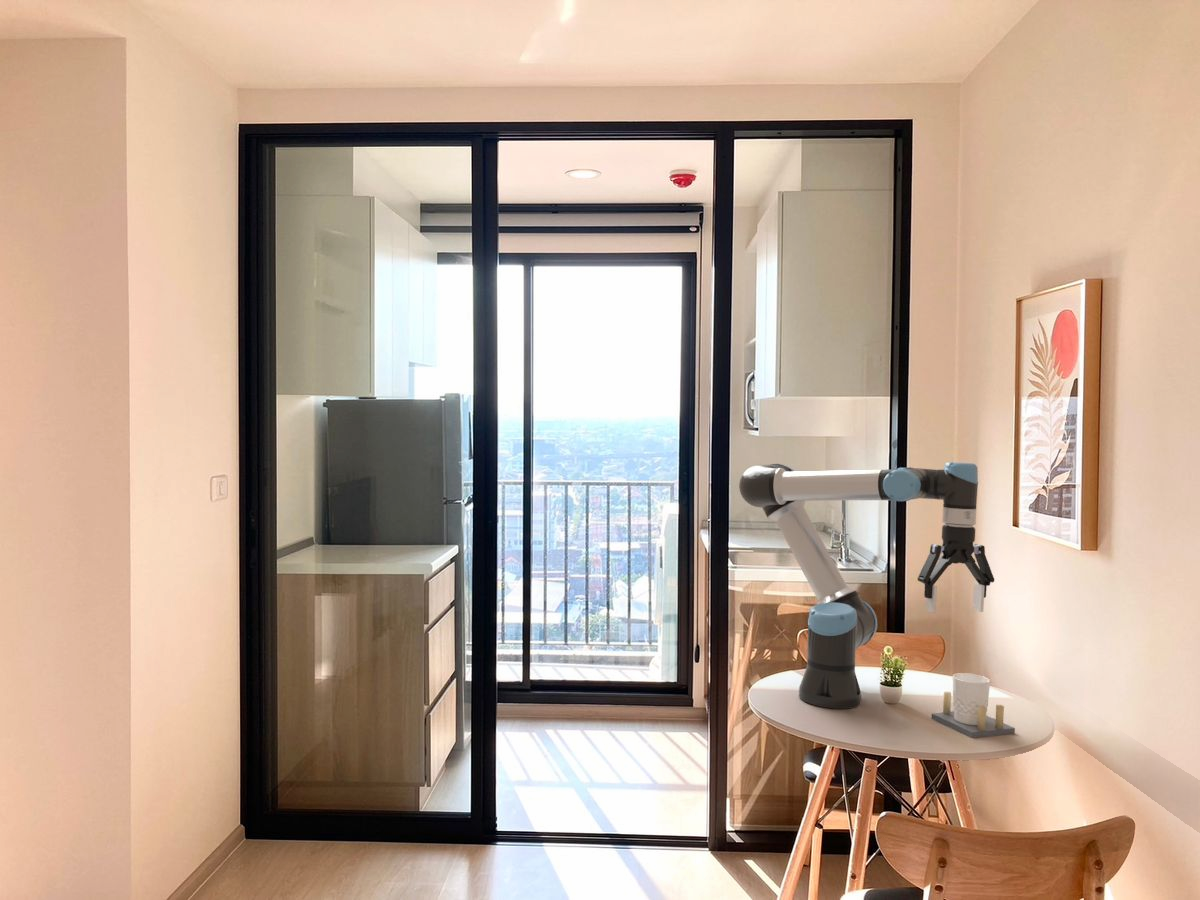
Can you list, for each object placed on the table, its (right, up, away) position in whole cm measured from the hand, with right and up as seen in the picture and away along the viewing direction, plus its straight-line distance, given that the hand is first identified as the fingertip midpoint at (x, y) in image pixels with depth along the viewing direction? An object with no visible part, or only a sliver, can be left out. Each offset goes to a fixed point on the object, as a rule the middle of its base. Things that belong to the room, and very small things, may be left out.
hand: (954, 611), depth 204 cm
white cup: (-2, -23, -12) cm, 26 cm away
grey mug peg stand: (-1, -24, -12) cm, 27 cm away
